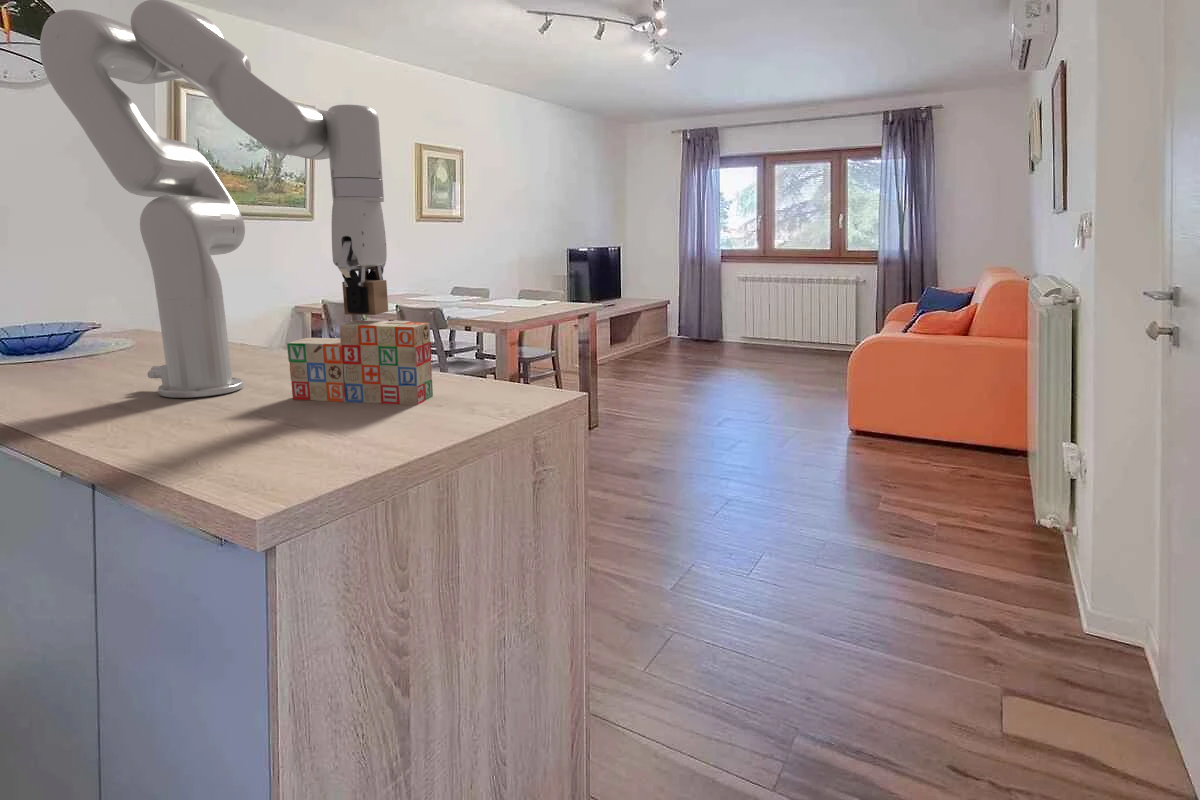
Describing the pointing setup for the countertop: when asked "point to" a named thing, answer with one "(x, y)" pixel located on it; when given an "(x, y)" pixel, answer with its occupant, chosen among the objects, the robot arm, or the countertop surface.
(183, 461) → the countertop surface
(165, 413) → the countertop surface
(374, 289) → the walnut cube
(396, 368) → the stack of blocks
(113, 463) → the countertop surface
